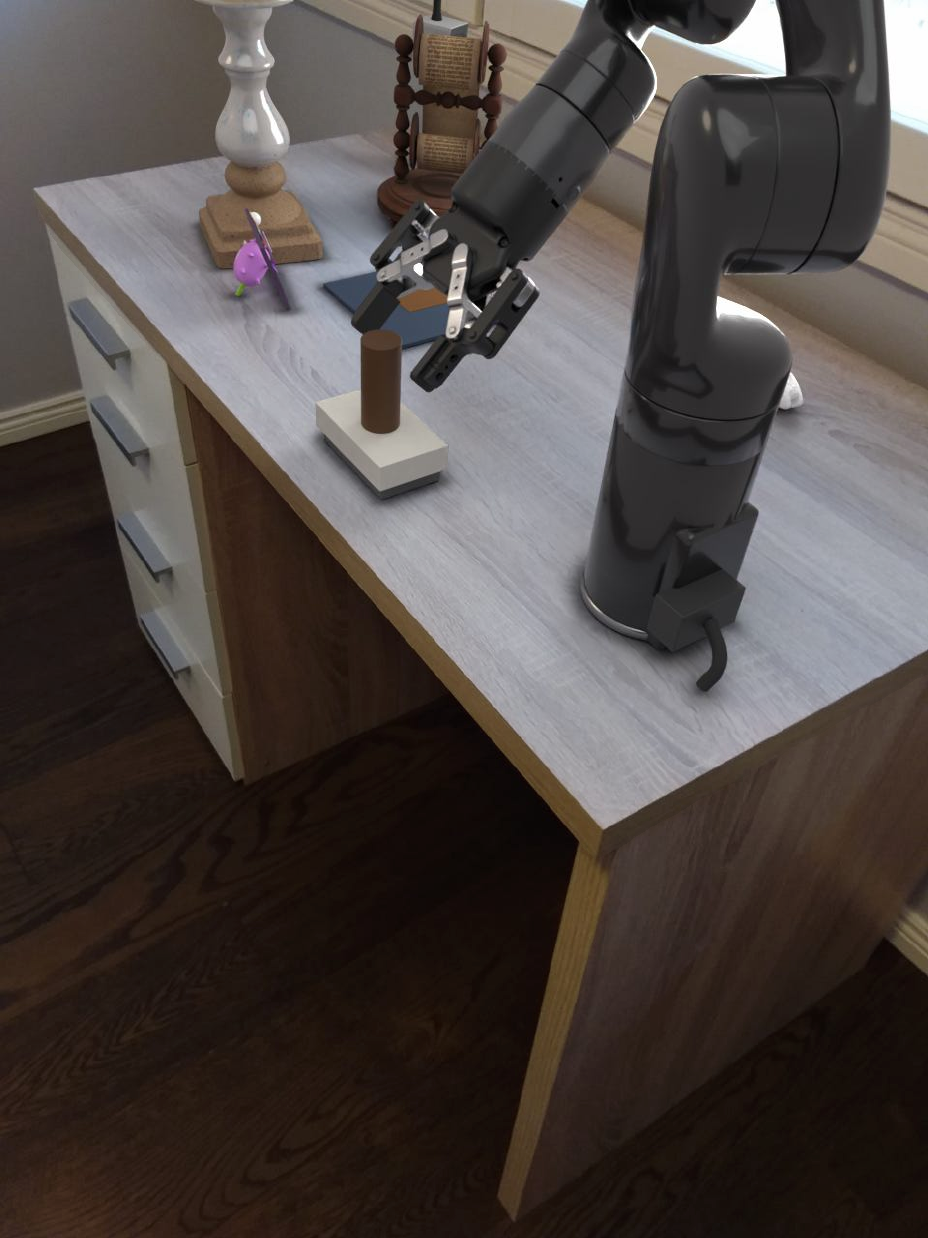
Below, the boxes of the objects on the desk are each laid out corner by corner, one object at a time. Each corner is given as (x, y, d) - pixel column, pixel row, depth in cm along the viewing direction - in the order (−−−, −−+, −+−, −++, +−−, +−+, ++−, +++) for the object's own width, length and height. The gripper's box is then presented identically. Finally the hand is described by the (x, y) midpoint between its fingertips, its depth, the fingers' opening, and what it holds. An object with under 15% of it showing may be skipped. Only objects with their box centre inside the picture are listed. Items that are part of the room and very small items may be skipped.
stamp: (446, 481, 79) (454, 361, 72) (379, 504, 77) (380, 382, 69) (380, 418, 85) (381, 301, 78) (316, 438, 82) (311, 318, 75)
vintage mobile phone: (442, 184, 122) (454, -62, 105) (408, 173, 124) (414, -71, 107) (459, 175, 124) (474, -67, 107) (426, 165, 126) (435, -75, 109)
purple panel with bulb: (270, 243, 92) (254, 203, 98) (217, 265, 92) (204, 224, 98) (298, 306, 97) (281, 264, 103) (248, 327, 97) (234, 285, 103)
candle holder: (298, 216, 113) (286, -35, 96) (324, 259, 106) (315, -4, 89) (198, 224, 110) (168, -34, 93) (218, 269, 102) (189, -2, 86)
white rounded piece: (776, 419, 89) (785, 391, 87) (732, 372, 94) (740, 345, 92) (807, 415, 90) (816, 387, 88) (762, 369, 95) (770, 341, 93)
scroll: (511, 198, 120) (529, 6, 106) (502, 252, 110) (521, 46, 96) (387, 185, 121) (389, -8, 107) (366, 237, 110) (366, 31, 96)
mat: (502, 321, 99) (503, 317, 98) (396, 350, 93) (396, 346, 93) (425, 263, 107) (425, 259, 106) (323, 287, 101) (323, 282, 101)
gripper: (446, 107, 73) (309, 291, 76) (567, 179, 65) (409, 381, 68) (499, 171, 79) (370, 339, 82) (616, 244, 71) (469, 427, 74)
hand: (388, 358), depth 75 cm, fingers open, 8 cm apart
